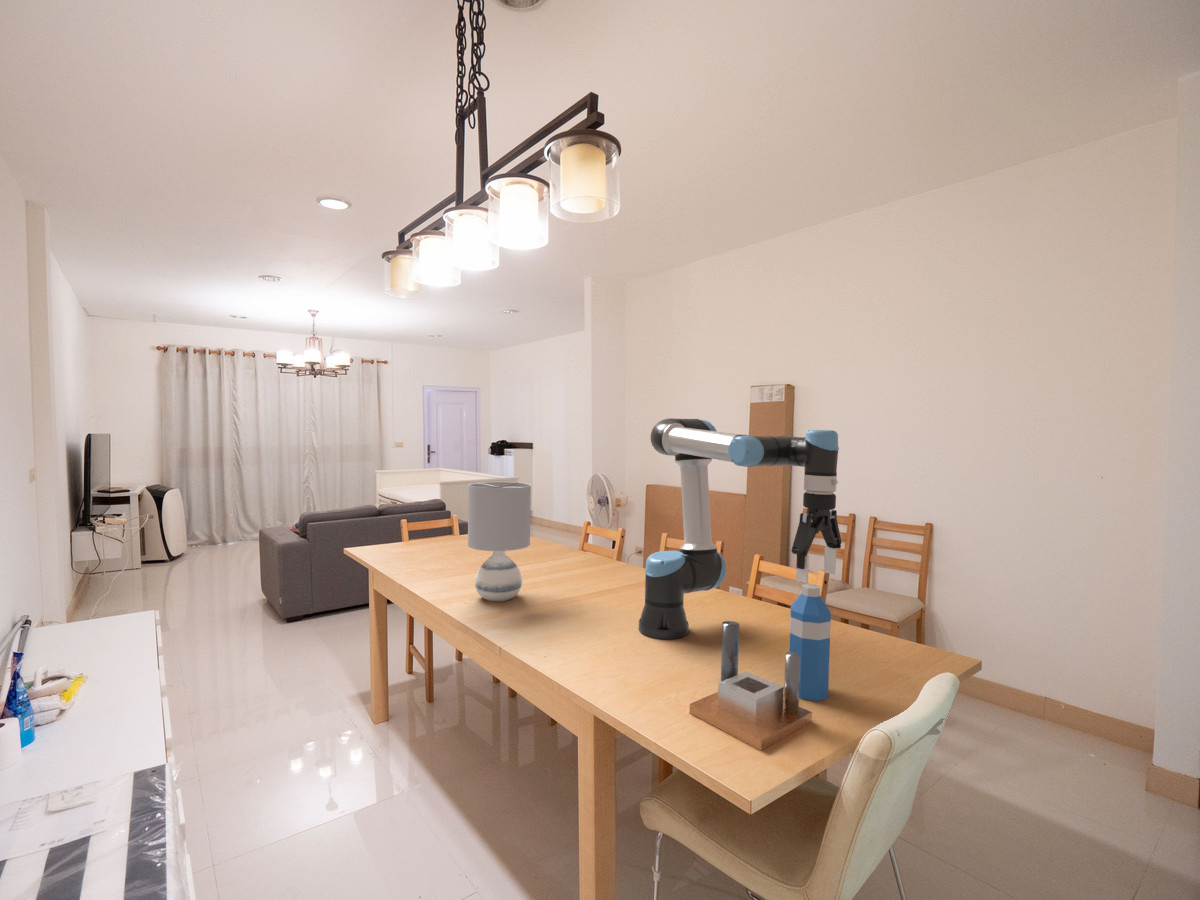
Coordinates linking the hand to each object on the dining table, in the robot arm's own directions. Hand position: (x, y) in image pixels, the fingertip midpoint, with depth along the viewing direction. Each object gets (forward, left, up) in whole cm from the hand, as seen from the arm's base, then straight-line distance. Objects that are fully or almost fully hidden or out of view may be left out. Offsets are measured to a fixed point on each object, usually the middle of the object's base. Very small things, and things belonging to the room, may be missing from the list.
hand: (816, 577), depth 142 cm
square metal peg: (-11, -19, -25) cm, 33 cm away
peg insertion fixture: (+3, -30, -25) cm, 39 cm away
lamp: (-103, -31, -25) cm, 111 cm away
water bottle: (+4, -9, -25) cm, 27 cm away
